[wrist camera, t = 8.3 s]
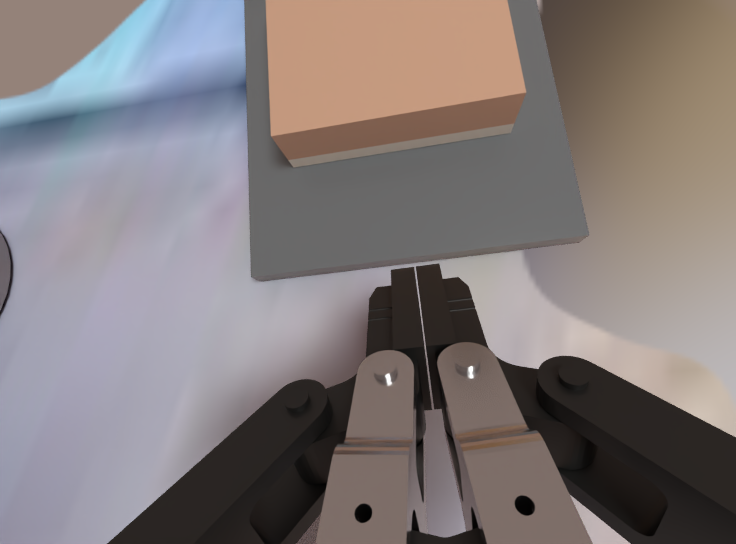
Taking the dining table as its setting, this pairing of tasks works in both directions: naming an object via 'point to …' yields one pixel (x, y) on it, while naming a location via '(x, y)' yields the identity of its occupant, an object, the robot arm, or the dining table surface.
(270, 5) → the tile
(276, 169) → the slate board
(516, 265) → the dining table surface
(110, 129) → the dining table surface
